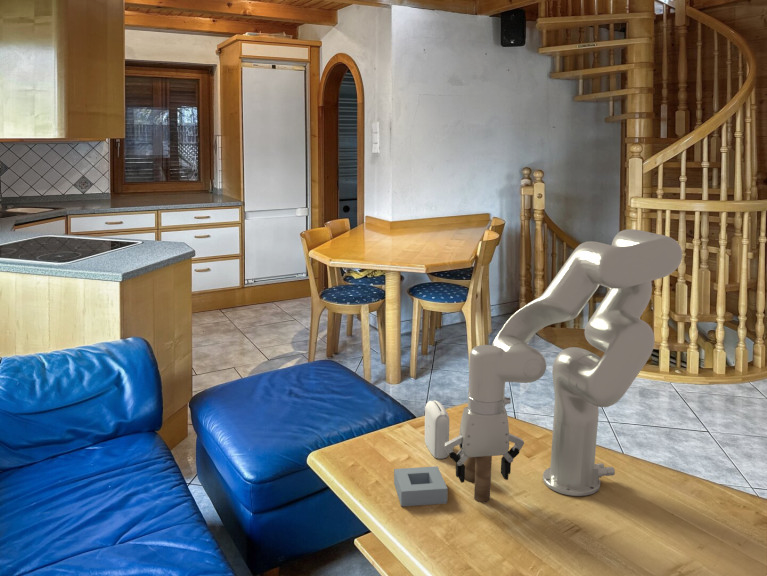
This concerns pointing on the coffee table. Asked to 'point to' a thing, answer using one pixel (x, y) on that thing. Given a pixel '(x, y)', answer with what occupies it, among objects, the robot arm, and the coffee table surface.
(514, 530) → the coffee table surface
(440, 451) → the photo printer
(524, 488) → the coffee table surface
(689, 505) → the coffee table surface
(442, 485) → the hole block
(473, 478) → the short dowel
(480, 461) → the tall dowel
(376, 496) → the coffee table surface
